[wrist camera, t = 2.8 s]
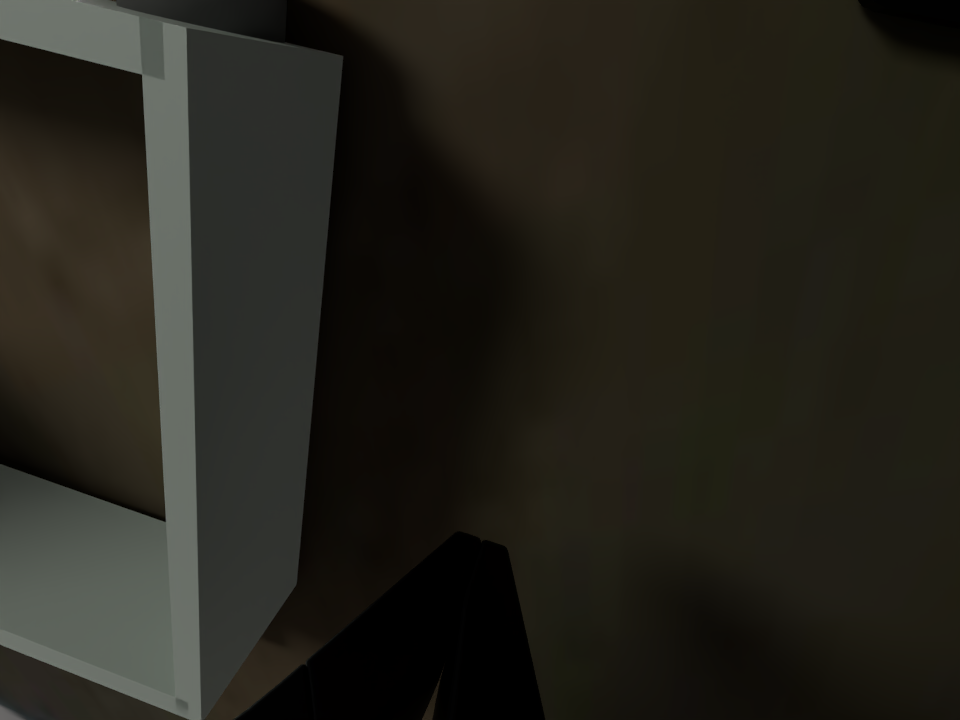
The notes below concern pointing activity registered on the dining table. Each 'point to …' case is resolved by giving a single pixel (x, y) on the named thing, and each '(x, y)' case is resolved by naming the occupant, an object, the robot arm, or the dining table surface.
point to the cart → (193, 355)
